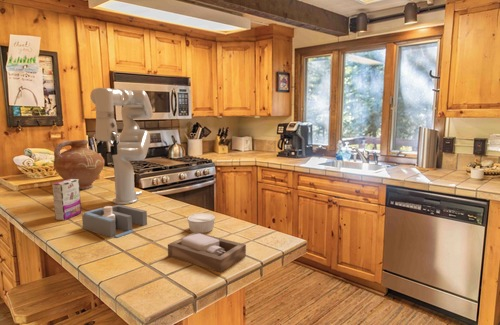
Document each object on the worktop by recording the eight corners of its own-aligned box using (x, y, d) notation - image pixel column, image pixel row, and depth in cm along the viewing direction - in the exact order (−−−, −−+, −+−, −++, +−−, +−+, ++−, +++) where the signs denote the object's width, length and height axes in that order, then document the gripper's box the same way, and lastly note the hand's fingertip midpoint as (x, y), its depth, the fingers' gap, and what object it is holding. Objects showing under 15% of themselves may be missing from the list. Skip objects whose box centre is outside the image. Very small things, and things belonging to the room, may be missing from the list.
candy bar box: (72, 212, 158) (70, 178, 156) (81, 213, 157) (79, 179, 155) (54, 220, 147) (51, 183, 145) (64, 220, 146) (61, 184, 144)
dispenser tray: (195, 242, 124) (195, 231, 123) (245, 255, 113) (245, 244, 112) (168, 255, 112) (167, 244, 112) (221, 272, 101) (221, 260, 100)
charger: (213, 263, 104) (180, 251, 113) (232, 256, 111) (200, 245, 120) (214, 249, 104) (181, 237, 112) (233, 242, 111) (201, 232, 120)
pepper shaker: (111, 227, 139) (109, 205, 137) (116, 229, 137) (115, 206, 135) (101, 229, 136) (100, 207, 134) (107, 232, 133) (105, 209, 132)
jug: (113, 188, 209) (111, 140, 204) (64, 195, 189) (60, 142, 184) (95, 181, 228) (92, 137, 224) (48, 187, 208) (44, 139, 203)
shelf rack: (119, 217, 152) (118, 203, 151) (151, 225, 141) (150, 210, 140) (82, 228, 137) (81, 213, 136) (115, 238, 126) (114, 222, 125)
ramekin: (189, 235, 131) (188, 222, 130) (186, 226, 142) (186, 214, 141) (217, 233, 134) (217, 220, 133) (212, 223, 145) (212, 212, 144)
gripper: (124, 116, 149) (126, 154, 151) (100, 115, 158) (102, 151, 160) (110, 116, 142) (112, 156, 145) (85, 115, 151) (88, 153, 154)
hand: (107, 153), depth 153 cm, fingers open, 9 cm apart
